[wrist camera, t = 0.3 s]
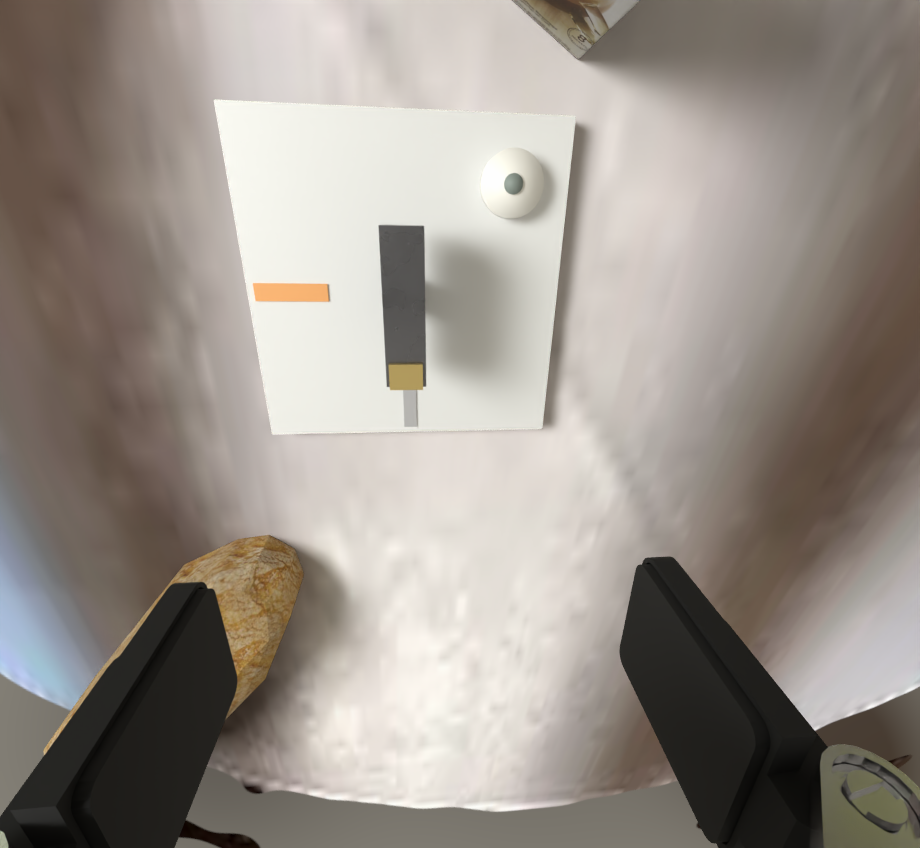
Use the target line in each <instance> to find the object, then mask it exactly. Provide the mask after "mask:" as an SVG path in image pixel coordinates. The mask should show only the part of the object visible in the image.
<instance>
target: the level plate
mask: <svg viewBox="0 0 920 848" xmlns="http://www.w3.org/2000/svg"><path fill="white" fill-rule="evenodd" d="M214 104H215V110H216V116H217V121H218V127H219V133H220V139H221V144H222V150H223V156H224V162H225V167H226V173H227V179H228V185H229V190H230V196H231V202H232V208H233V213H234V219H235V225H236V230H237V236H238V242H239V248H240V253H241V259H242V265H243V271H244V276H245V282H246V288H247V294H248V299H249V305H250V311H251V317H252V322H253V328H254V334H255V340H256V345H257V351H258V357H259V362H260V368H261V374H262V380H263V385H264V391H265V397H266V403H267V408H268V414H269V420H270V426H271V431H272V434H321V433H371V432H421V431H471V430H521V429H542V427H543V417H544V408H545V399H546V390H547V380H548V371H549V362H550V353H551V343H552V334H553V325H554V316H555V306H556V297H557V288H558V278H559V269H560V260H561V251H562V241H563V232H564V223H565V214H566V204H567V195H568V186H569V177H570V167H571V158H572V149H573V140H574V130H575V121H576V116H571V115H549V114H526V113H504V112H481V111H459V110H436V109H414V108H391V107H369V106H346V105H324V104H301V103H279V102H256V101H234V100H214ZM383 224H387V225H424V241H425V323H426V387H423V390H390V387H387V382H386V363H385V343H384V324H383V304H382V285H381V266H380V246H379V227H378V225H383Z"/></svg>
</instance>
